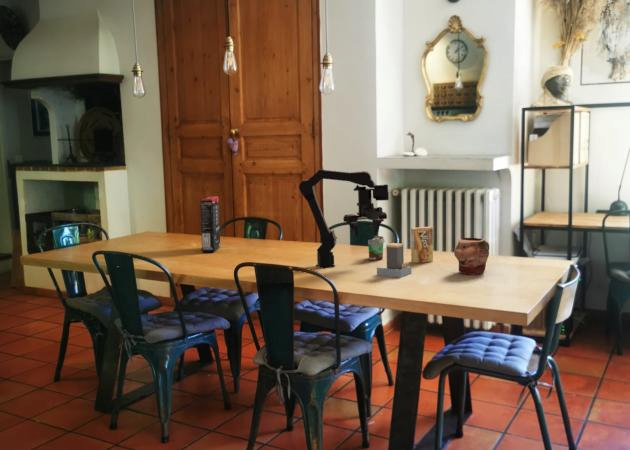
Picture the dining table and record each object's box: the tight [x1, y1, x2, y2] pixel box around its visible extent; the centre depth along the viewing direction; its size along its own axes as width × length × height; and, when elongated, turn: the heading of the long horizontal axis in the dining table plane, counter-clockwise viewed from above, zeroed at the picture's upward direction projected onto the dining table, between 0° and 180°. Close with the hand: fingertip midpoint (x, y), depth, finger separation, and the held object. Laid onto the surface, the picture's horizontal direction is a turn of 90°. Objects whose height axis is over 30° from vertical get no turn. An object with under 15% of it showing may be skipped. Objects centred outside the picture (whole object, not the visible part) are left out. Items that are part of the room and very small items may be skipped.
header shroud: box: [376, 262, 413, 279], centre depth 270 cm, size 11×9×5 cm
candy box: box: [410, 226, 434, 264], centre depth 292 cm, size 9×4×15 cm, turn 104°
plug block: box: [385, 242, 405, 270], centre depth 269 cm, size 5×5×12 cm
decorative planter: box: [453, 237, 490, 276], centre depth 268 cm, size 20×12×14 cm, turn 134°
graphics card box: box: [199, 195, 221, 253], centre depth 339 cm, size 17×7×27 cm, turn 178°
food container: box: [367, 235, 386, 262], centre depth 301 cm, size 12×6×10 cm, turn 161°
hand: (365, 236), depth 286 cm, fingers open, 9 cm apart
